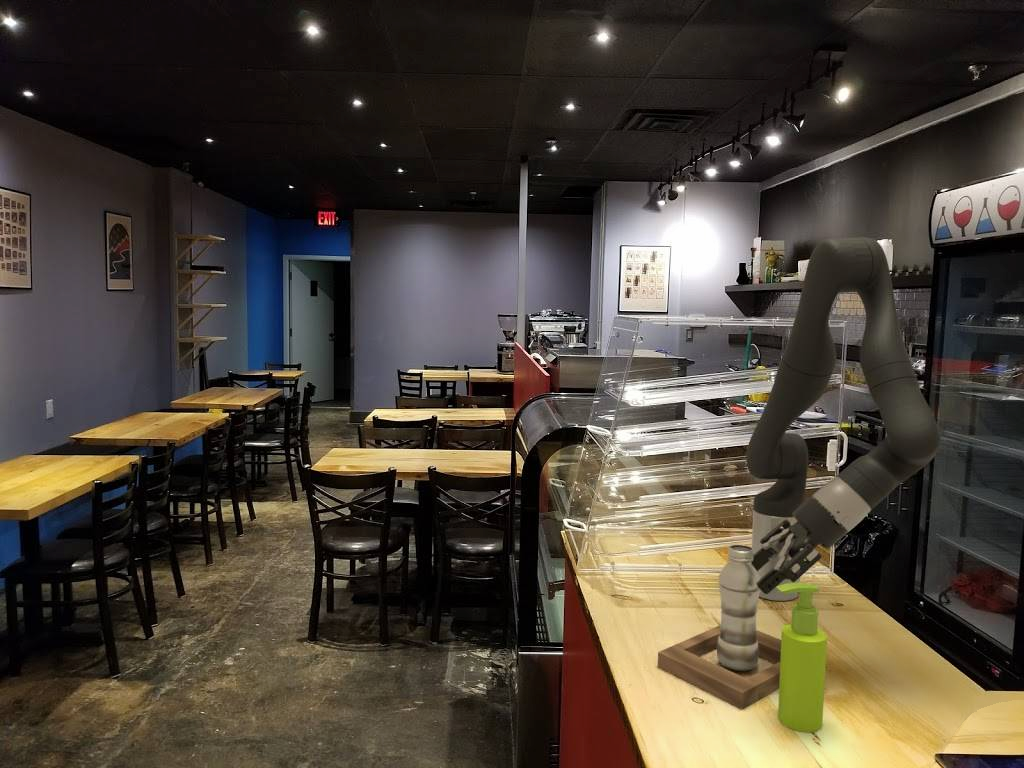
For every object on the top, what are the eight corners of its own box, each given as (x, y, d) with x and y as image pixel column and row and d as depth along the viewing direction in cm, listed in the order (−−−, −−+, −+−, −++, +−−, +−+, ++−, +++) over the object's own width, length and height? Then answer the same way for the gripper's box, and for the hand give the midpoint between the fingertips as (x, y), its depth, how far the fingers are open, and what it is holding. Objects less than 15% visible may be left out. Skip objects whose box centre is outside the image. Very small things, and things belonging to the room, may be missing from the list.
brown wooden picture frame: (731, 633, 131) (731, 620, 131) (814, 668, 118) (815, 653, 118) (657, 666, 119) (658, 652, 118) (742, 709, 106) (742, 693, 106)
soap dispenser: (764, 710, 106) (769, 577, 104) (809, 708, 107) (816, 576, 104) (782, 733, 100) (788, 594, 98) (830, 731, 101) (837, 592, 99)
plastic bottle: (761, 678, 115) (766, 555, 113) (717, 674, 116) (721, 553, 114) (755, 658, 121) (760, 542, 119) (713, 655, 123) (717, 540, 121)
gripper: (801, 484, 122) (728, 548, 124) (830, 507, 107) (748, 579, 110) (832, 515, 122) (759, 579, 124) (865, 543, 108) (782, 614, 110)
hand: (754, 579), depth 117 cm, fingers open, 8 cm apart
